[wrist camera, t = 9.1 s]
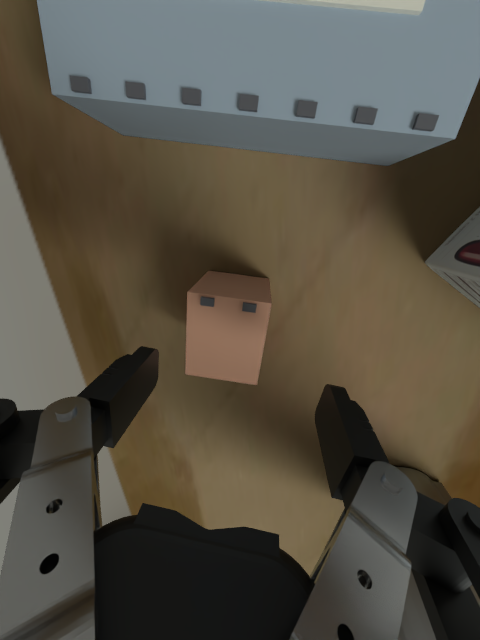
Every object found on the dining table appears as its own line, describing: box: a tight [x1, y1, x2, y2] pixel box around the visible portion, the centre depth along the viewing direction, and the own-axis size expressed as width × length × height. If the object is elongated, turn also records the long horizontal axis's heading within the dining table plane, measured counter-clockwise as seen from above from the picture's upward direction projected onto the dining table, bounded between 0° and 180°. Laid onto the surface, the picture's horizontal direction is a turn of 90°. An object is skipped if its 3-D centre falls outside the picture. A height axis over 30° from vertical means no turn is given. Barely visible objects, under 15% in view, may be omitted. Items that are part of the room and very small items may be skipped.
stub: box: [185, 271, 272, 385], centre depth 18 cm, size 5×6×6 cm
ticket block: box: [37, 0, 480, 166], centre depth 11 cm, size 18×10×6 cm, turn 83°
